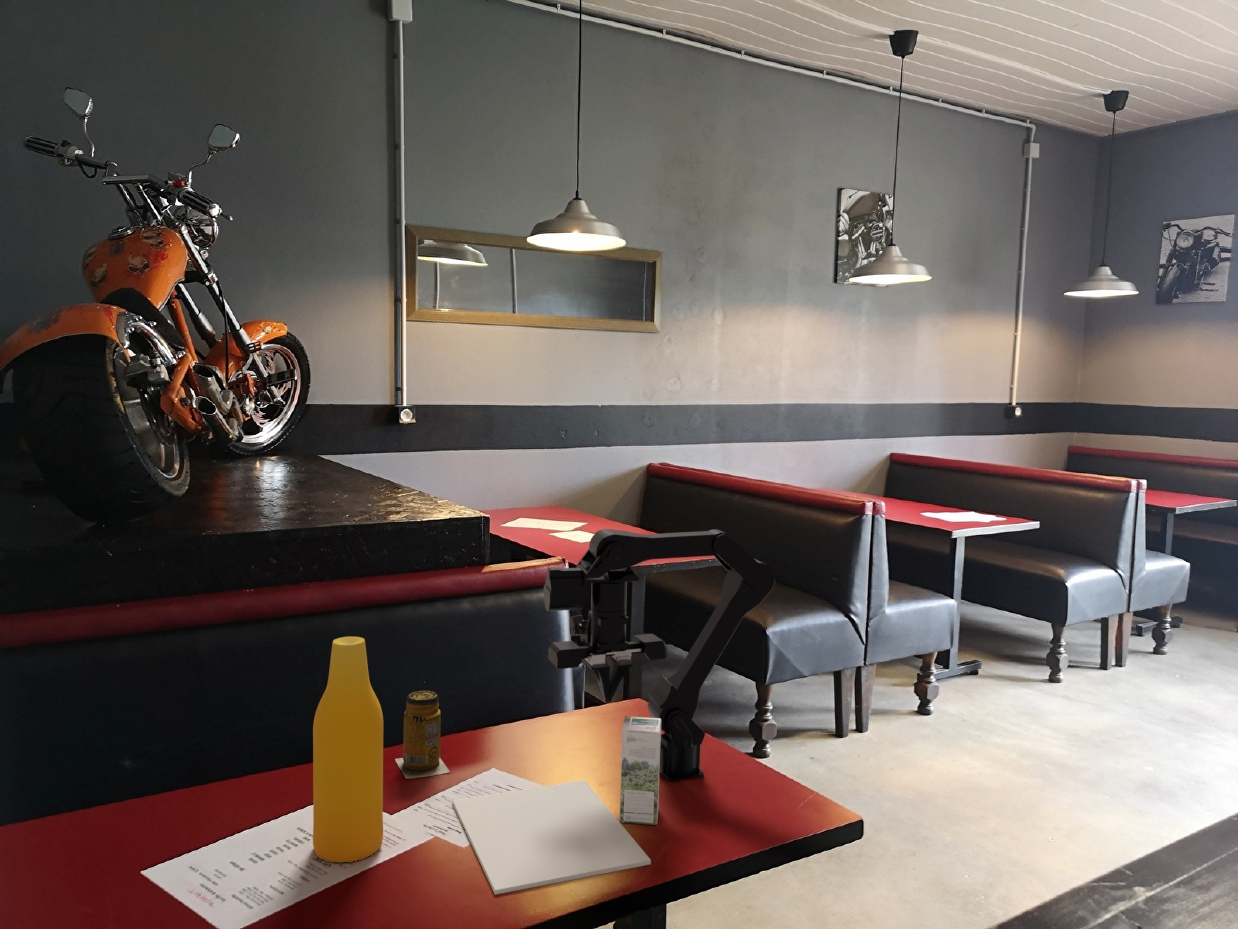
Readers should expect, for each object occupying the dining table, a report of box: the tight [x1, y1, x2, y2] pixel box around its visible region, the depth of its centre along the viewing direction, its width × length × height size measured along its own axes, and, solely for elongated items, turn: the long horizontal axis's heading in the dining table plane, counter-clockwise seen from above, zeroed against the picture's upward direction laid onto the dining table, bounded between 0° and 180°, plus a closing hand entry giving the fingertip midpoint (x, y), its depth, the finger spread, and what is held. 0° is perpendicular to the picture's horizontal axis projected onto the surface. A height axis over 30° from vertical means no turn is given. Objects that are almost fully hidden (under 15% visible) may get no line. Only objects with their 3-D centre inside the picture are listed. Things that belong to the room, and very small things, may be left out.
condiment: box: [394, 690, 451, 779], centre depth 148 cm, size 7×8×12 cm
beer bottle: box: [312, 636, 384, 863], centre depth 121 cm, size 9×9×29 cm
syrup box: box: [619, 715, 662, 826], centre depth 133 cm, size 6×6×14 cm
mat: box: [451, 779, 652, 895], centre depth 128 cm, size 22×26×1 cm
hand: (606, 702), depth 145 cm, fingers closed
